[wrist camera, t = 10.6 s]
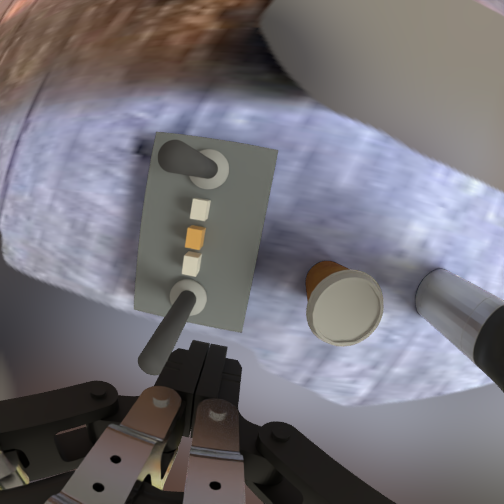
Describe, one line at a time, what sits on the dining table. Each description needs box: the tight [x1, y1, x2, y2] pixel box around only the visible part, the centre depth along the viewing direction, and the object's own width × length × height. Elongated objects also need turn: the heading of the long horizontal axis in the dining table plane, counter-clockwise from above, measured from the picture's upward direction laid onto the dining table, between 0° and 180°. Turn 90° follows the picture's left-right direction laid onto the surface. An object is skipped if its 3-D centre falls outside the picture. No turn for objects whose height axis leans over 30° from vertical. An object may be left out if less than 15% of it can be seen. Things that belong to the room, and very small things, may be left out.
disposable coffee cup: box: [305, 261, 384, 346], centre depth 38 cm, size 10×10×12 cm
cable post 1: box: [158, 140, 229, 189], centre depth 28 cm, size 5×5×17 cm
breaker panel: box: [134, 132, 278, 333], centre depth 39 cm, size 16×25×7 cm, turn 169°
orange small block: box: [185, 225, 206, 250], centre depth 36 cm, size 2×2×3 cm
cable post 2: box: [138, 279, 207, 375], centre depth 32 cm, size 5×5×17 cm
